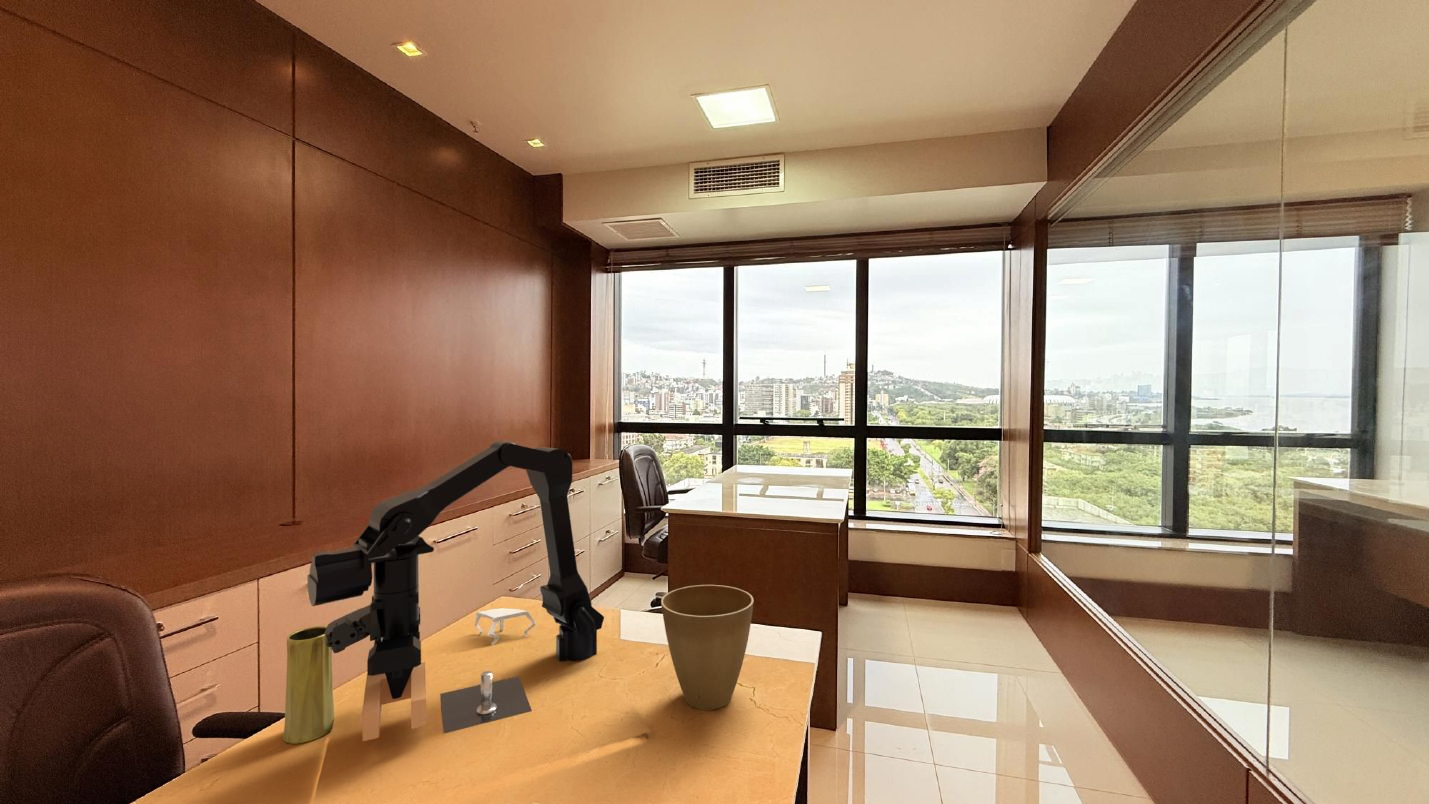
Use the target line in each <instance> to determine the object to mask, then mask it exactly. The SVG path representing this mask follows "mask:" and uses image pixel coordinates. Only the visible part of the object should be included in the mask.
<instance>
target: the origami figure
mask: <svg viewBox="0 0 1429 804" xmlns="http://www.w3.org/2000/svg"><path fill="white" fill-rule="evenodd" d="M521 616H526V617H527V619H528V620H529V621H530V622H531V623H532V624H531V625H530V626H529V627H528V628H527V629H526V630H524V637H525V638H526V637H529V634H528V632H529V631H530V630H532V629H533V628H534V627H535V626H536V625H537V622H536V621H535V620H534V618H533V617H532V616H531V614H530V613H529V612H528V611H526V610H523V609H518V608H502V607H500V608H493V609H488V610H482V611H476V618H475V623H474V627H476V628H477V630H478V631H479V634H478V635H479V636H480V635H482V634H483V630H482V628H481V627H480V626H479V624H478V623H479V622H480V621H479V620H480V619H481V618H486V619H489V620H492V621H493V623H492V625H491V626H490V629H489V631H488V633H487V635H486V636H489V637H491V638H493V640H492V642H491V644H490V645H495V644H497V642H498V640H499V639H500V636H498V635H497V634H495V633H494V632H495V630H496V628H497V625H498V624H499V632H503V631H504V623H505V622H504V621H505V620H509V619H511V618H517V617H521Z"/></svg>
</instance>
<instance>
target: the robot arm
mask: <svg viewBox="0 0 1429 804" xmlns="http://www.w3.org/2000/svg"><path fill="white" fill-rule="evenodd" d="M573 463H574V461H573V459H572V456H571V454H570V453H568V452H567V451H566V450H564V449H560V448H556V447H555V448H554V447H546V446H545V447H544V446H541V447H540V446H539V447H536V448H532V447H527V446H522V445H519V444H516V443H515V442H511V441H504V440H499V441H495V442H493V443H491V445H490V446H489V447H487V448H486V449H484V450H482V451H481V452H479V453H478V454H476V455H474V456H472V457H471V458H469V459H468V460H466V461H464V462H463V463H461V464H460V465H458V466H456V467H455V468H453V469H451V470H450V471H448V472H446V473H445V474H443V475H442V476H440V477H437V478H436V479H435V480H433V481H432V482H430V483H428V484H426V485H424V486H421V487H419V488H416V489H412V490H409V491H406V492H402V493H400V494H398V495H395V496H393V497H390V498H387V499H385V500H383V501H381V502H379V503H378V504H377V505H376V506H374V507H373V509H372V510H370V511H371V513H370V515H369V518H368V522H369V523H368V524H367V525H366V527H365V528H364V529H363V530H362V532H361V533H360V535H359V536H358V537H357V539H356V540H355V541H354V542H353V544H352V548H347V549H339V550H334V551H320V552H315V553H314V552H313V553H312V554H311V563H310V566H309V574H307V577H306V578H307V580H306V581H307V592H308V599H309V602H310V603H309V604H310V605H311V606H312V607H316V606H320V605H325V604H330V603H335V602H338V601H344V600H348V599H352V598H356V597H361V596H363V594H364V592H368V591H369V588H370V587H371V586H372V583H373V595H372V596H371V602H370V604H368V605H366V606H363V607H360V608H358V609H356V610H354V611H352V612H349V613H347V614H345V615H343V616H341V617H339V618H337V619H334V620H332V621H331V622H329V623H328V624H327V625H326V627H327V628H326V631H325V633H324V634H325V636H326V638H327V640H328V641H327V646H328V647H331V648H332V652H333V654H338V653H341V652H342V651H344V650H345V649H346V648H348V647H350V646H351V645H352V646H353V645H354V644H357V643H358V642H360V641H362V640H364V639H366V638H367V637H369V642H372V641H374V643H373V646H371V649H369V650H368V655H367V660H366V662H367V665H366V666H367V667H366V668H367V669H366V670H367V672H366V673H367V674H366V676H367V675H370V676H374V675H379V674H384V673H385V675H386V678H387V682H388V685H389V689H390V692H391V696H392V699H397V698H400V697H401V696H402V694H403V691H404V689H405V687H406V684H407V682H408V680H409V677H410V675H411V673H412V671H413V668H414V667H417V666H419V665H420V664H421V663H422V641H421V640H420V639H421V632H420V625H421V606H420V605H419V604H420V599H419V596H420V592H419V590H420V589H419V588H420V586H419V577H420V576H419V556H420V555H424V554H429V553H433V552H434V551H435V548H434V546H432V545H430V544H428V543H427V542H426V541H425V539H424V538H423V537H422V536H420V535H421V534H422V533H423V532H425V530H427V529H428V528H429V527H430V526H431V525H432V524H433V523H434V522H435V521H436V519H437V518H438V517H439V515H440V514H441V513H442V512H443V511H444V510H445V509H446V508H447V507H449V506H450V505H451V504H453V503H455V502H456V501H458V500H459V499H461V498H463V497H464V496H465V495H467V494H468V493H470V492H472V491H473V490H474V489H476V488H478V487H479V486H481V485H482V484H484V483H486V482H487V481H489V480H490V479H492V478H493V477H495V476H496V475H498V474H499V473H501V472H502V471H504V470H505V469H507V468H508V467H513V468H517V469H522V470H525V471H526V474H527V476H528V480H529V482H530V485H531V487H532V488H533V491H534V492H535V494H536V495H537V497H538V498H539V503H540V504H539V505H540V511H541V517H542V524H543V525H542V526H543V530H544V531H543V532H544V538H545V546H546V551H547V558H548V566H549V568H548V569H549V572H550V573H549V575H550V576H549V578H548V580H547V584H545V585H541V586H540V588H539V590H540V593H541V596H542V604H541V607H542V608H544V609H545V610H546V612H547V613H548V615H550V616H551V617H553V619H554V622H555V623H556V624H559V627H558V628H559V629H558V632H559V633H558V634H557V635H556V636H555V639H556V640H555V648H556V651H555V656H556V658H557V661H559V662H567V661H568V662H581V661H585V660H587V659H590V658H591V657H593V656H596V655H597V657H598V656H599V655H598V645H597V644H598V633H597V632H598V631H599V630H601V629H602V628H603V627H602V626H603V623H604V619H605V616H604V615H602V613H600V612H599V611H598V610H597V609H596V608H594V607H593V606H592V605H593V603H592V600H591V596H590V593H589V590H588V587H587V585H586V584H585V582H584V580H583V578H582V576H581V575H580V574H579V571H578V565H577V558H576V551H575V543H574V536H573V529H572V520H571V514H570V513H571V512H570V507H569V499H568V494H569V492H570V488H571V486H572V482H573V471H574V470H573V469H574V467H573V466H574V464H573ZM372 564H373V565H372ZM372 566H373V568H372Z"/></svg>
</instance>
